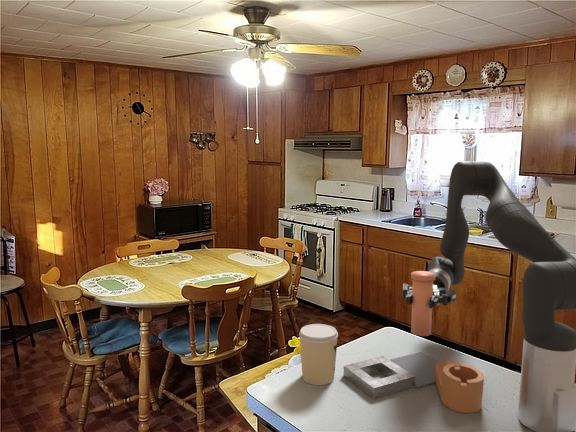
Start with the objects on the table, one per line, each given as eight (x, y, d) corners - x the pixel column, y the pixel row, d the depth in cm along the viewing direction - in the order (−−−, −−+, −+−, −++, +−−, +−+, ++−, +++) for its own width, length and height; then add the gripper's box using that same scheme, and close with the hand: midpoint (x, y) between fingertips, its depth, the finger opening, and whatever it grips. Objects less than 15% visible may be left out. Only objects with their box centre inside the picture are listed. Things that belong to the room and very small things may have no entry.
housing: (414, 386, 107) (415, 376, 106) (373, 398, 101) (373, 388, 101) (382, 365, 117) (382, 355, 117) (343, 375, 112) (343, 365, 112)
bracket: (485, 414, 95) (488, 384, 94) (444, 410, 96) (446, 380, 95) (467, 372, 113) (469, 346, 111) (432, 369, 114) (433, 343, 113)
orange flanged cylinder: (438, 334, 113) (440, 275, 110) (420, 338, 110) (422, 278, 108) (421, 326, 118) (423, 269, 116) (404, 330, 115) (406, 272, 113)
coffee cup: (344, 383, 108) (344, 334, 107) (307, 390, 105) (308, 340, 104) (327, 366, 117) (328, 321, 115) (293, 372, 114) (293, 326, 112)
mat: (461, 374, 112) (461, 373, 112) (417, 388, 106) (418, 386, 106) (421, 352, 124) (421, 351, 124) (380, 363, 118) (380, 362, 118)
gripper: (409, 268, 128) (391, 283, 113) (462, 274, 121) (451, 292, 106) (408, 293, 129) (390, 312, 114) (461, 301, 122) (449, 322, 107)
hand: (419, 302), depth 110 cm, fingers closed on orange flanged cylinder, 4 cm apart
